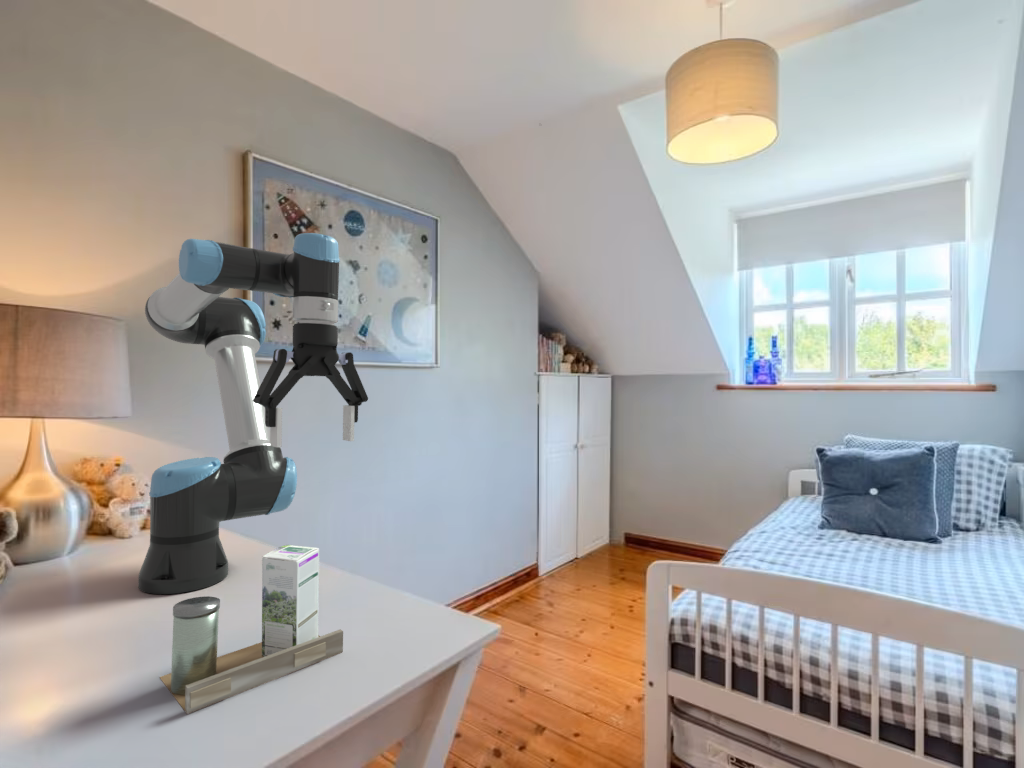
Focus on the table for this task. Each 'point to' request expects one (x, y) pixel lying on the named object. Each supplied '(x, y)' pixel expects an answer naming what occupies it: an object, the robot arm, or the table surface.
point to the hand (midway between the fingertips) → (313, 443)
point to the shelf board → (254, 670)
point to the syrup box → (289, 597)
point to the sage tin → (194, 641)
